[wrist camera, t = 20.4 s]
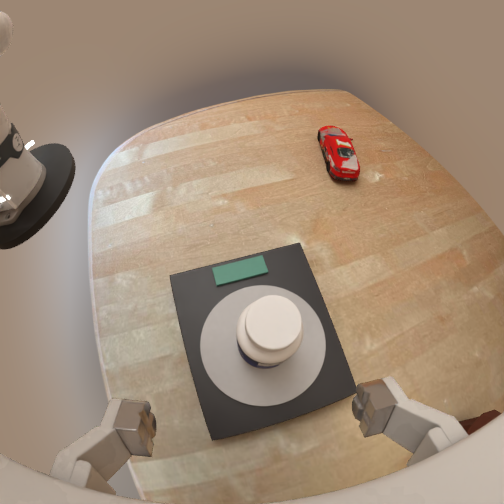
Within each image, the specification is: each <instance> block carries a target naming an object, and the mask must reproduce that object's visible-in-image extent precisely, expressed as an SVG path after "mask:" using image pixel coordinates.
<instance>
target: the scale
mask: <svg viewBox="0 0 504 504" xmlns="http://www.w3.org/2000/svg"><path fill="white" fill-rule="evenodd" d="M170 281H171V286H172V291H173V296H174V301H175V306H176V311H177V315H178V320H179V324H180V329H181V333H182V337H183V341H184V346H185V350H186V354H187V358H188V362H189V365H190V369H191V373H192V377H193V380H194V384H195V387H196V391H197V394H198V398H199V401H200V405H201V408H202V411H203V415H204V418H205V421H206V424H207V427H208V430H209V433H210V436H211V439H212V441H213V440H218V439H222V438H227V437H231V436H235V435H239V434H243V433H247V432H250V431H254V430H258V429H261V428H264V427H268V426H271V425H274V424H277V423H281V422H284V421H287V420H290V419H293V418H295V417H298V416H301V415H304V414H307V413H309V412H312V411H315V410H317V409H320V408H322V407H325V406H327V405H330V404H332V403H334V402H337V401H339V400H342V399H344V398H346V397H348V396H351V395H353V394H355V393H356V391H355V390H356V385H355V382H354V380H353V377H352V374H351V371H350V368H349V366H348V363H347V360H346V357H345V355H344V352H343V349H342V347H341V344H340V341H339V339H338V336H337V333H336V331H335V328H334V325H333V323H332V320H331V318H330V315H329V313H328V310H327V308H326V305H325V303H324V300H323V298H322V295H321V293H320V290H319V288H318V285H317V283H316V280H315V278H314V275H313V273H312V271H311V268H310V266H309V263H308V261H307V259H306V256H305V254H304V252H303V249H302V247H301V245H300V243H296V244H292V245H288V246H284V247H280V248H276V249H272V250H268V251H264V252H260V253H256V254H253V255H249V256H245V257H241V258H237V259H233V260H229V261H225V262H221V263H217V264H213V265H209V266H205V267H201V268H197V269H193V270H189V271H185V272H181V273H177V274H173V275H170ZM268 295H278V296H282V297H285V298H287V299H289V300H290V301H292V302H293V303H294V304H295V305H296V307H297V308H298V310H299V312H300V314H301V318H302V323H303V328H304V334H303V340H302V342H301V345H300V347H299V348H298V350H297V351H296V352H295V353H294V354H293V355H292V356H291V357H290V358H289V359H287V360H286V361H284V362H283V363H281V364H280V365H278V366H276V367H274V368H270V369H258V368H255V367H253V366H251V365H249V364H248V363H246V362H245V361H244V359H243V358H242V357H241V355H240V353H239V350H238V346H237V337H236V326H237V322H238V319H239V317H240V315H241V313H242V312H243V310H244V309H245V308H246V307H247V306H249V305H250V304H251V303H253V302H255V301H256V300H258V299H260V298H262V297H264V296H268Z"/></svg>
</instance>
